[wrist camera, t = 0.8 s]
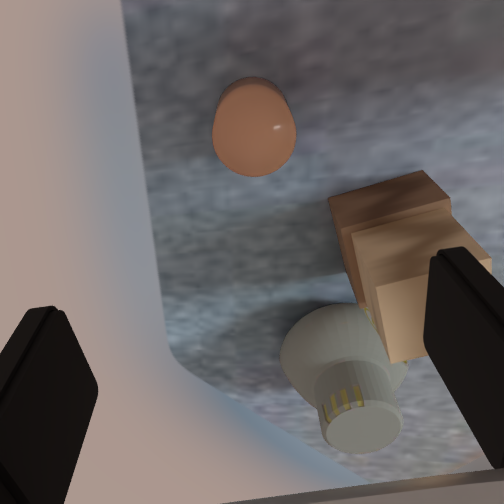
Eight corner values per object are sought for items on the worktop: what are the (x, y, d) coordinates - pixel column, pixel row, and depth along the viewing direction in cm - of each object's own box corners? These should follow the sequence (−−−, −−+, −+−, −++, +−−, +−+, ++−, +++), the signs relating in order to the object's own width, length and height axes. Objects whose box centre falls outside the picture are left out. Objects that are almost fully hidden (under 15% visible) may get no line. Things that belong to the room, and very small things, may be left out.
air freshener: (406, 347, 40) (450, 443, 32) (331, 387, 43) (354, 486, 34) (342, 272, 36) (374, 361, 27) (264, 322, 38) (270, 417, 30)
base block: (421, 169, 31) (450, 197, 27) (431, 247, 35) (457, 284, 31) (327, 197, 32) (340, 228, 28) (345, 270, 36) (359, 308, 32)
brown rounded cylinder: (276, 66, 27) (283, 80, 23) (296, 137, 30) (305, 162, 26) (205, 90, 28) (199, 109, 24) (230, 158, 30) (228, 186, 26)
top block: (444, 207, 27) (491, 257, 22) (450, 281, 30) (492, 340, 25) (351, 233, 28) (375, 287, 23) (366, 302, 31) (390, 363, 26)
